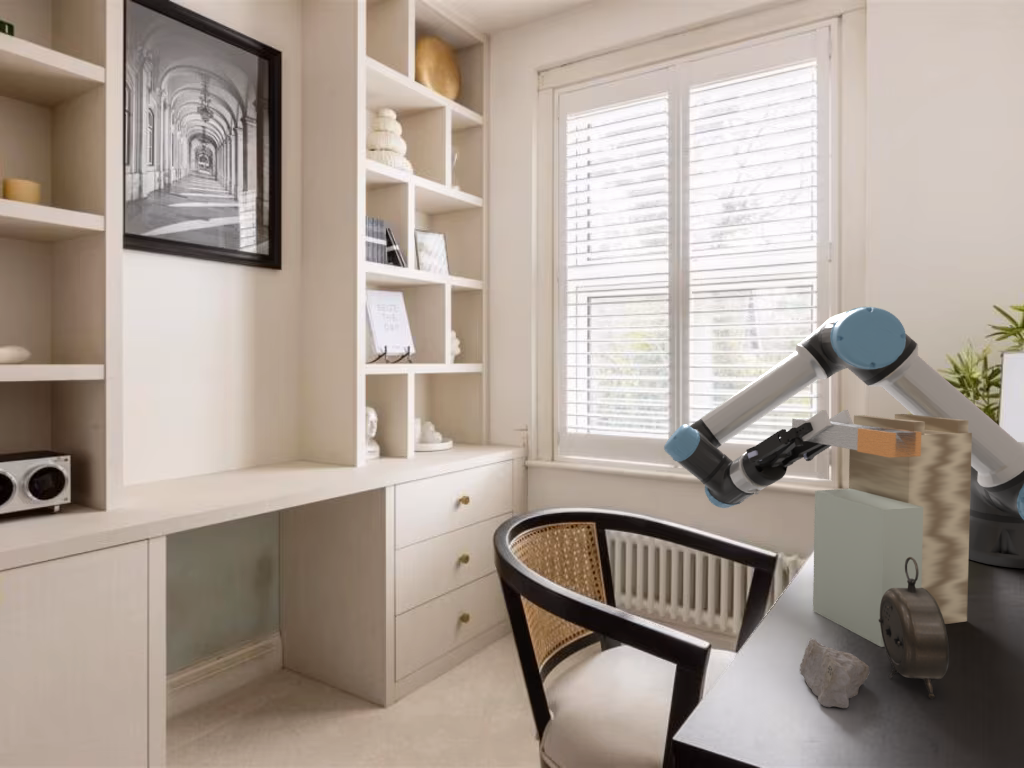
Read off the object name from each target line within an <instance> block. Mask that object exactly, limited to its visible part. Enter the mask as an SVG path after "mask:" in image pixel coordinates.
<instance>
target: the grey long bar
mask: <svg viewBox="0 0 1024 768" xmlns="http://www.w3.org/2000/svg"><path fill="white" fill-rule="evenodd" d="M810 418H811V417H807V418H805V417H803V418H800V417H799V418H797V417H796V418H792V421H791V423H792V424H791V428H797V427H798V426H800V425H801V424H803V423H804V422H806V421H807V420H809V419H810ZM830 422H831V426H830V427H828V428H827V429H825V430H824V431H822V432H820V433H819V434H817V435H816V436H814V437H812V438H811V439H809V440H808V441H809V442H814V443H820V444H825V445H831V446H830V447H838V448H843V449H847V450H850V449H853V450H857V452H862V453H868V454H873V455H879V456H884V457H914V456H921V432H917V431H909V430H901V429H894V428H880V427H872V426H864V425H857V424H854V423H853V424H849V423H842V422H834V421H830ZM801 440H803V439H802V438H801Z"/></svg>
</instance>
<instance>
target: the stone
mask: <svg viewBox="0 0 1024 768" xmlns="http://www.w3.org/2000/svg"><path fill="white" fill-rule="evenodd" d="M799 666H800V668H799V672H800V673H799V674H800V675H801V676H802V677H803V679H804V681H805V682H806V684H807V686H808V688H810V689H811V691H812V694H814V695H815V696H816V697H817V700H818V703H819V704H820V705H822V706H823V707H827V708H831V707H837V708H840V709H847V708H848V707H849V706H850V703H849V702H850V701H849V699H852V698H854V697H856V696H857V695H858V694H859V689H860V687H861V686H862V685H863V684H864V683H865V682H866V681H865V680H867V679H868V677H869V674H870V666H869V665H868V664H866V663H865V662H864V661H863V660H861V659H859V658H858V657H857V656H856V655H854V654H852V653H850V652H846V651H843V650H842V651H839V650H836V649H835V648H832V647H827V646H825V645H823V644H821V643H820V642H819V641H818V640H817V639H816V638H810V639H809V640H808V641H807V646H806V648H805V650H804V654H803V658H802V660H801V663H800V665H799Z"/></svg>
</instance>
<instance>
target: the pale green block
mask: <svg viewBox="0 0 1024 768" xmlns="http://www.w3.org/2000/svg"><path fill="white" fill-rule="evenodd" d="M813 521H814V522H813V523H814V524H813V526H814V529H813V530H814V533H813V536H814V537H813V538H814V539H813V585H812V586H813V588H812V590H813V595H812V598H813V599H812V602H813V603H812V611H813V612H814V613H816V614H819V616H822V617H823V618H826V619H828V620H829V621H831V622H834V623H835V624H837V625H839V626H841V627H843V628H845V629H846V630H848V631H850V632H852V633H854V634H855V635H858V636H860V637H862V638H863V639H866V640H867V641H869V642H871V643H872V644H875V645H876V646H879V647H880V648H885V646H884V642H883V638H882V633H881V626H880V622H879V619H880V604H881V600H882V597H883V595H884V593H885V592H886V591H887V590H889V589H891V588H908V582H907V580H908V579H907V576H906V573H905V561H906V559H907V558H908V557H913V558H914V559H915V560H916V562H917V565H918V571H919V574H918V579H917V581H916V584H915V587H916V588H921V583H922V540H923V507H922V506H918V505H914V504H910V503H906V502H902V501H898V500H894V499H890V498H886V497H882V496H878V495H874V494H870V493H866V492H863V491H859V490H855V489H851V488H850V489H849V488H838V489H837V488H836V489H820V490H814V520H813ZM907 571H908V575H909V578H912V579H914V580H915V577H916V569H915V564H914V562H913V560H911V559H910V560H909V561H908V564H907Z"/></svg>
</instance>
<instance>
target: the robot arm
mask: <svg viewBox="0 0 1024 768" xmlns="http://www.w3.org/2000/svg"><path fill="white" fill-rule="evenodd" d="M845 369H848V370H850V371H851V373H852V374H854V375H855V376H856V377H858V379H860V380H861V381H862V382H863V383H864V384H865V385H867V386H868V387H870V388H871V387H874V388H876V387H880V388H881V389H883V390H885V391H886V393H888V394H889V395H890V396H891V397H892V398H893V399H895V400H896V401H897V402H898V403H899V404H901V406H902V407H904V408H905V409H906V410H907V411H908V412H910V414H911V415H920V416H930V417H940V418H950V419H960V420H968V432H969V433H972V446H971V484H970V522H969V560H971V561H974V562H978V563H981V564H986V565H992V566H996V567H997V566H998V567H1002V568H1003V567H1004V568H1013V569H1024V441H1017V440H1016V439H1015V438H1014V437H1013V436H1012V435H1010V434H1009V433H1008V432H1007V431H1006V430H1004V428H1002V427H1001V426H1000V425H999V424H998V423H997V422H995V421H994V420H993V418H991V417H990V416H989V415H987V414H986V413H985V412H984V411H983V410H982V409H980V408H979V407H978V406H977V405H976V404H974V402H973V401H971V400H970V399H969V398H968V397H967V396H966V395H964V394H963V393H962V392H961V391H960V390H958V389H957V388H956V387H955V386H954V385H953V384H952V383H950V382H949V381H948V380H947V379H945V378H944V376H942V375H941V374H940V373H939V372H938V371H936V370H935V369H934V368H933V367H932V366H930V364H929V363H927V362H926V360H923V358H921V357H920V356H919V344H918V343H917V341H915V340H914V339H912V338H911V336H909V335H908V334H907V333H906V330H905V327H904V325H903V323H902V322H901V321H900V319H899V318H897V316H896V315H895V314H893V313H891V312H890V311H888V310H886V309H883V308H879V307H875V306H860V307H859V306H858V307H855V308H852V309H849V310H847V311H842V312H839V313H836V314H834V315H833V316H830V317H829V318H828V319H827V320H825V321H824V322H823V323H822V324H821V325H819V327H818V328H817V329H815V330H814V331H813V332H812V333H811V334H809V335H808V336H807V337H805V339H803V340H801V341H800V342H799V343H797V344H796V346H795V351H794V352H793V353H791V354H789V356H787V357H786V358H784V359H783V360H781V361H780V362H778V363H777V364H776V365H774V366H773V367H771V368H770V369H769V370H767V371H766V372H765V373H763V374H761V375H760V376H759V377H758V378H756V379H754V380H753V381H752V382H750V383H749V384H747V385H746V386H744V387H743V388H741V389H740V390H739V391H737V392H736V393H734V394H733V395H731V396H730V397H729V398H727V399H725V400H724V401H723V402H721V403H720V404H719V405H717V406H716V407H714V409H712V410H710V411H708V413H706V414H704V415H703V416H702V417H700V418H699V419H698V420H697V421H694V422H693V423H692V424H691V425H689V424H686V423H683V424H681V425H680V426H679V427H678V428H677V429H676V430H675V431H674V432H673V433H672V435H671V436H670V437H669V438H668V440H667V441H666V442H665V444H664V445H663V449H664V452H665V453H666V454H668V455H669V457H671V458H672V460H674V462H677V463H678V464H679V465H681V466H682V467H683V468H684V469H686V470H687V471H688V472H689V473H690V474H691V475H693V476H694V477H695V478H697V480H699V481H700V482H701V483H702V484H703V485H704V493H705V496H707V499H708V501H709V502H710V503H711V504H712V505H713V506H715V507H718V508H721V509H729V508H731V507H734V506H737V505H740V504H742V503H744V502H745V501H746V500H747V499H749V498H750V497H752V496H753V495H756V496H757V495H759V494H760V491H762V490H764V489H765V488H767V487H769V486H771V485H773V484H774V483H776V482H778V481H780V480H781V479H782V478H783V477H785V475H786V473H787V470H788V467H789V466H792V465H793V464H794V463H796V462H797V461H798V460H801V459H803V460H805V461H806V462H810V461H813V459H814V458H815V457H816V456H817V455H819V454H820V453H822V452H824V451H826V450H827V449H829V448H830V447H832V446H831V445H825V444H820V443H814V442H809V441H808V440H809V439H811V438H812V437H814V436H816V435H817V434H819V433H820V432H822V431H824V430H825V429H827V428H828V427H830V426H831V422H830V421H834V422H842V423H849V424H854V421H853V420H852V417H851V415H850V413H849V411H848V409H843V410H842V411H840V412H838V413H836V414H835V415H834V416H832V417H831V418H829V414H828V412H827V410H826V409H824V410H820V411H819V412H818V413H815V414H814V415H813V416H812V417H809V418H810V419H809V420H807V421H806V422H804V423H803V424H801V425H800V426H798V427H797V428H792V427H791V428H790V429H788V431H787V430H786V429H780V430H778V431H776V432H775V433H773V434H772V435H770V436H769V437H767V438H766V439H765V438H764V439H763V440H762V441H760V442H759V443H758V444H756V445H754V446H752V447H750V448H749V447H748V448H747V449H746V452H744V453H743V454H742V455H740V456H739V457H737V458H735V460H732V459H731V458H730V457H728V456H727V454H725V453H723V452H722V451H721V450H720V449H719V448H720V447H721V446H722V445H723V444H725V443H727V442H728V441H729V440H731V439H732V438H734V437H735V436H737V435H738V434H740V433H741V432H743V431H744V430H745V429H748V427H751V426H752V425H753V424H754V423H756V422H757V421H758V420H760V419H762V418H763V417H765V416H766V415H767V414H769V413H770V412H772V411H774V410H775V409H776V408H778V407H779V406H781V405H782V404H783V403H785V402H787V401H788V400H789V399H791V398H792V397H794V396H795V395H797V394H798V393H801V391H802V390H804V389H806V388H807V387H808V386H810V385H812V384H814V382H816V381H818V380H824V381H825V380H828V379H829V378H830V377H832V376H833V375H835V374H836V373H839V372H841V371H843V370H845ZM801 438H802V439H803V440H801Z"/></svg>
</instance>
